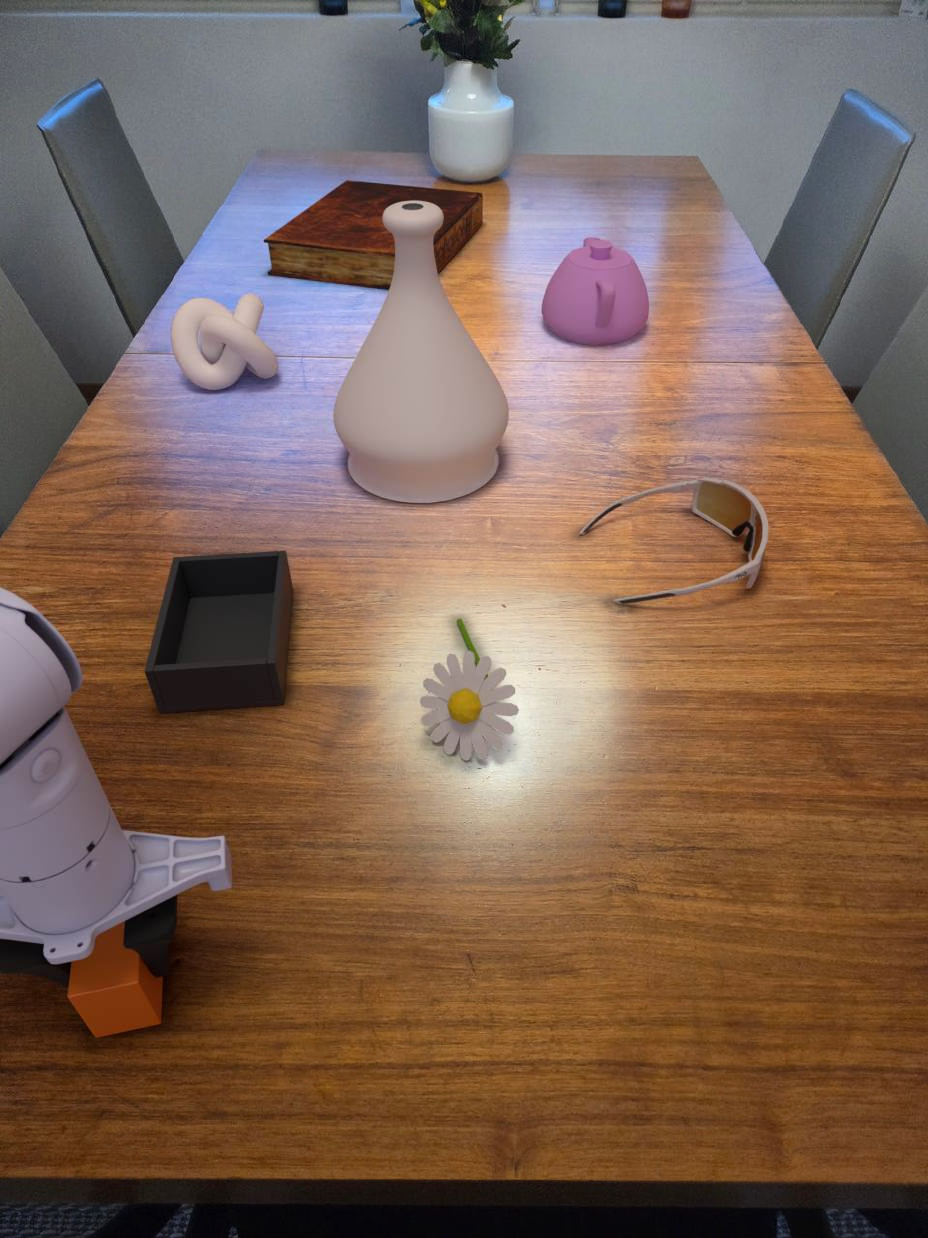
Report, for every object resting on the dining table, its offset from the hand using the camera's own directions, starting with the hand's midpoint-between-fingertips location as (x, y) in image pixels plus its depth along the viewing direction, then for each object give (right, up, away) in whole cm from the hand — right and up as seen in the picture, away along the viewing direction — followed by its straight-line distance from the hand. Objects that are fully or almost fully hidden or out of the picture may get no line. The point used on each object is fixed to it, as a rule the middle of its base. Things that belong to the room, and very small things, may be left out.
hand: (124, 968), depth 49 cm
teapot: (+36, +58, +66) cm, 96 cm away
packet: (0, -1, +1) cm, 1 cm away
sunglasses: (+38, +25, +30) cm, 54 cm away
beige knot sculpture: (-8, +48, +56) cm, 74 cm away
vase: (+15, +36, +42) cm, 57 cm away
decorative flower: (+18, +14, +17) cm, 29 cm away
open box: (0, +17, +21) cm, 27 cm away
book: (+6, +77, +87) cm, 117 cm away
